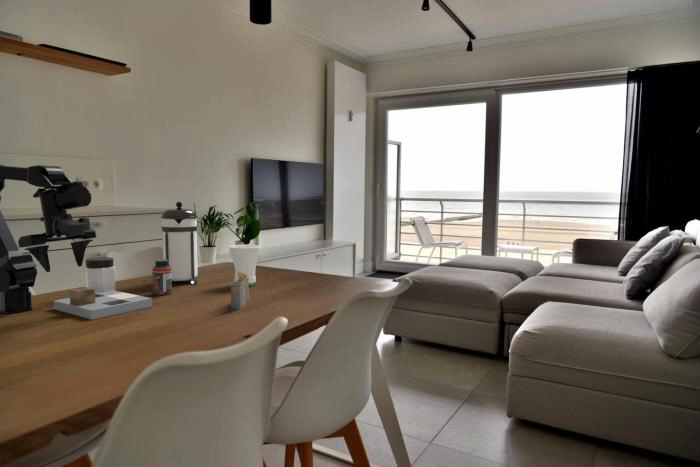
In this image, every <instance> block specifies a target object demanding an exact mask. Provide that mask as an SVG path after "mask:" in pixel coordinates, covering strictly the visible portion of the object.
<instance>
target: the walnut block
mask: <svg viewBox="0 0 700 467" xmlns="http://www.w3.org/2000/svg"><path fill="white" fill-rule="evenodd" d="M69 298H70V304H73V305H77V306H82V305H87V304H92V303H95V289H93V288H88V287H86V286H83V287H78V288H71V289H69Z"/></svg>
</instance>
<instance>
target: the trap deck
mask: <svg viewBox="0 0 700 467" xmlns="http://www.w3.org/2000/svg"><path fill="white" fill-rule="evenodd" d="M151 307H153V298H152V297H148V296H147V297H146V296H143V295H139V294H133V293H128V292H123V291H118V290H115V291H114V290H111V291H106V292H100V293H95V303H92V304H87V305H82V306H77V305H73V304H70V297H67V298H60V299H56V300H53V309H54V310H55V311H59V312H63V313H66V314H70V315H73V316H78V317H81V318H85V319H88V320H91V321H92V320H97V319H102V318H106V317H111V316H116V315H120V314H124V313H125V314H126V313H130V312H133V311H137V310H138V311H139V310H143V309H147V308H148V309H149V308H151Z"/></svg>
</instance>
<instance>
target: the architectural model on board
mask: <svg viewBox="0 0 700 467" xmlns="http://www.w3.org/2000/svg"><path fill="white" fill-rule="evenodd" d="M237 273H238V272H237ZM238 276H239V279H238V280H237V281H235V280H234V282H232V284H230V310H241V309H242V308H243V307H244V306H245V305H246V304H247V303H248V302H249V298H250V296H249V295H250V294H249V291H250V290H249V287H250V286H249V278H247V275H245V274H243V273H241V272H239V273H238Z"/></svg>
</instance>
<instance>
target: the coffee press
mask: <svg viewBox="0 0 700 467" xmlns="http://www.w3.org/2000/svg"><path fill="white" fill-rule="evenodd" d="M175 206H176V208H169V209H165V210H164V211H163V212H162V214H161V216H160V218H161V219H160V220H161V232H162V233H161V234H162V236H161V237H162V259H166V260H168V265H169V266H170V267H171V272H172V282H181V281H184V282H185V281H187V282H190V283H191V284H192V285H196V284H198V281H197V278H198V225H197V222H198V220H197V219H198V215H197V213H196V211H195V210H193V209H191V208H182V207H183V203H182V202H181V201H177V202H176V204H175Z"/></svg>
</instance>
